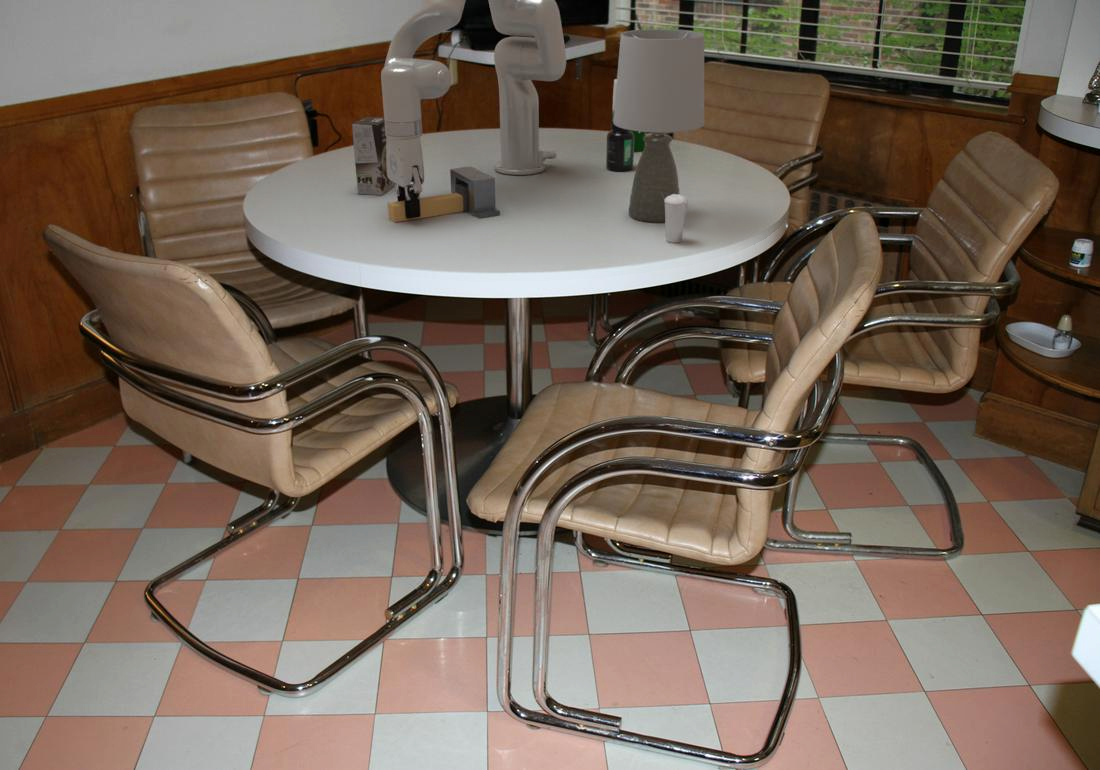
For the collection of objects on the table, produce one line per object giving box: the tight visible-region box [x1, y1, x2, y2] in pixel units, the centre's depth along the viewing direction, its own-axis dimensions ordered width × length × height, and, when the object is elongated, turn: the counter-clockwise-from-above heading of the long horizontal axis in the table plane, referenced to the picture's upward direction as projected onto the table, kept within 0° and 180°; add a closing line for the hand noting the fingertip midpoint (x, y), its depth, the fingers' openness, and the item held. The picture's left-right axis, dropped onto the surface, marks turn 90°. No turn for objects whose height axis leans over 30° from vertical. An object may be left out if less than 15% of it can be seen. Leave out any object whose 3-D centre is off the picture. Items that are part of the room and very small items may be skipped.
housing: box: [449, 166, 501, 219], centre depth 216 cm, size 5×16×8 cm, turn 30°
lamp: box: [613, 28, 705, 223], centre depth 204 cm, size 19×19×37 cm
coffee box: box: [351, 116, 396, 196], centre depth 228 cm, size 9×6×16 cm
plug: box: [387, 183, 469, 223], centre depth 213 cm, size 22×4×5 cm, turn 120°
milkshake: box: [661, 192, 689, 244], centre depth 194 cm, size 5×5×10 cm
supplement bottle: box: [605, 119, 635, 173], centre depth 246 cm, size 7×7×12 cm
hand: (409, 214), depth 211 cm, fingers closed on plug, 3 cm apart
